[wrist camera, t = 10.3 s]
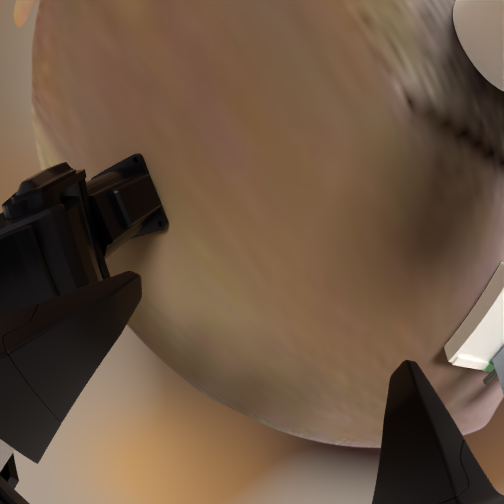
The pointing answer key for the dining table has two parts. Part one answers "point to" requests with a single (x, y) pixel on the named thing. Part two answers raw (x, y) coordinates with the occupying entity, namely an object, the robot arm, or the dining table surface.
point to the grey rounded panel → (497, 370)
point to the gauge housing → (481, 329)
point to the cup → (482, 36)
